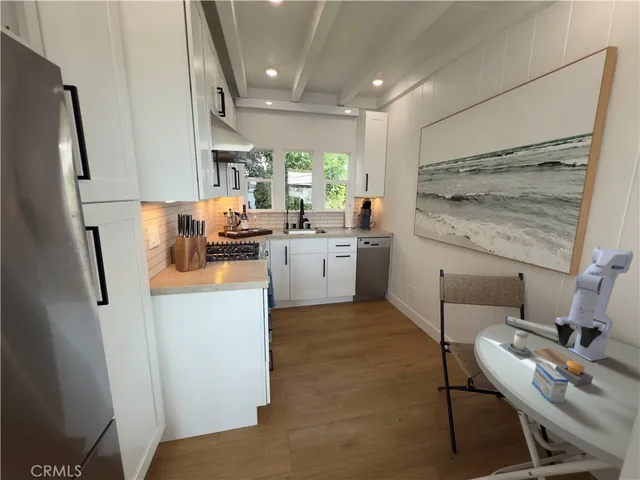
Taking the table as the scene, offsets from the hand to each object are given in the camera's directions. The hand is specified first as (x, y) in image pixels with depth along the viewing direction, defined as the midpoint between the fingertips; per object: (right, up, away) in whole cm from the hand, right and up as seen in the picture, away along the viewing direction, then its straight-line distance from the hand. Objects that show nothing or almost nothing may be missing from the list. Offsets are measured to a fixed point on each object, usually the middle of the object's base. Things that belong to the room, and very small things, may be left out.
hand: (572, 345), depth 92 cm
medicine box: (-13, -15, -4) cm, 20 cm away
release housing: (+2, -13, +3) cm, 13 cm away
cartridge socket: (-6, -9, +18) cm, 21 cm away
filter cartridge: (-6, -9, +18) cm, 21 cm away
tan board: (+6, -10, +14) cm, 18 cm away
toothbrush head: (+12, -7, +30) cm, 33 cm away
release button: (+2, -11, +2) cm, 12 cm away
